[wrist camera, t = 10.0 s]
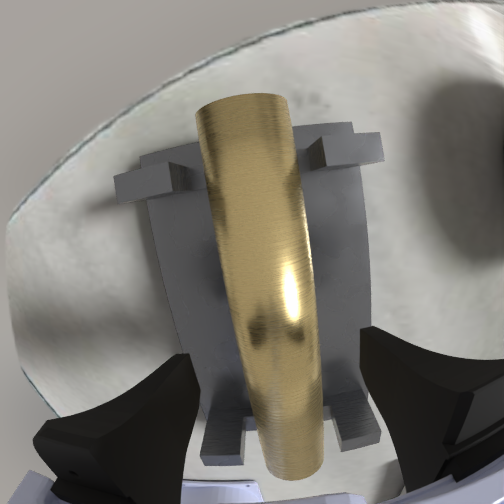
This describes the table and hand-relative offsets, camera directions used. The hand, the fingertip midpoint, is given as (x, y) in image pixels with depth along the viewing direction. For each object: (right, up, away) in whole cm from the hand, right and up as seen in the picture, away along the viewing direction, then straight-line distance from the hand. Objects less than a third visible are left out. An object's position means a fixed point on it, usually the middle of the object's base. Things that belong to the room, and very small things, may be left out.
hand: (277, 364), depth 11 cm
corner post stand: (0, +2, +7) cm, 7 cm away
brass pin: (0, +1, +4) cm, 5 cm away
